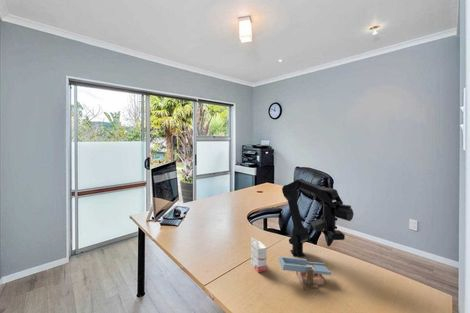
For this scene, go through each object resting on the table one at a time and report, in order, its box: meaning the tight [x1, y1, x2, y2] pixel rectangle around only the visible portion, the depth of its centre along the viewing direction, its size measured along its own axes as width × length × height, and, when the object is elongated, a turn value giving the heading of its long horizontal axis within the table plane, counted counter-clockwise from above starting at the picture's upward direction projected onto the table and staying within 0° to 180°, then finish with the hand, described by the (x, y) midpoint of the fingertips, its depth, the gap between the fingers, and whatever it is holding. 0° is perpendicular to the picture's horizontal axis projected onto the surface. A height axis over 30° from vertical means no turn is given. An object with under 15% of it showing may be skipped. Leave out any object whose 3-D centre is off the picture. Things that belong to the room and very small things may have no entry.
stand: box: [295, 265, 319, 290], centre depth 101 cm, size 6×11×8 cm, turn 3°
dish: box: [296, 272, 326, 286], centre depth 102 cm, size 10×7×3 cm
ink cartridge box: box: [250, 236, 268, 273], centre depth 112 cm, size 9×5×15 cm, turn 21°
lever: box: [278, 256, 332, 276], centre depth 101 cm, size 22×7×3 cm, turn 93°
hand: (328, 245), depth 109 cm, fingers closed
